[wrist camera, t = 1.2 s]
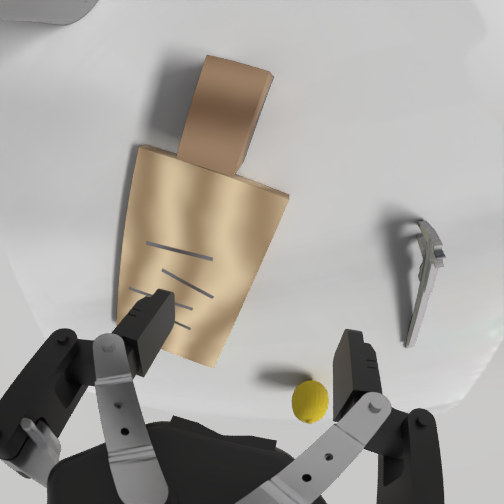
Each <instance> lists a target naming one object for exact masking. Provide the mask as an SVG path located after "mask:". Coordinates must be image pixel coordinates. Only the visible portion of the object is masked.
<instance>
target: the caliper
mask: <svg viewBox="0 0 504 504" xmlns="http://www.w3.org/2000/svg"><path fill="white" fill-rule="evenodd" d="M417 225H418V226H419V228H420V230H421V232H422V234H417V241H418V244H419V247H420V250H421V253H422V256H423V263H422V264H421V266H420V272H419V275H418V277H419V280H420V285H419V290H418V295H417V299H416V304H415V308H414V312H413V316H412V320H411V324H410V327H409V331H408V335H407V343H406V348H411V347H413V346H415V343H416V340H417V337H418V334H419V331H420V327H421V324H422V321H423V317H424V314H425V311H426V307H427V303H428V300H429V296H430V292H432V291H433V287H434V284H435V280H436V276H437V272H438V268H440V267H444V265H443V260H442V259H443V258H446V256H445V255H444V253H443V251H442V246H443V244H442V242H441V240H440V239H439V237H438V235H437V233H436V231H435V230H434V229H433V228H432V226H431V225H430V224H429V223H428V222H427V221H419V222H418V223H417Z"/></svg>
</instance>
